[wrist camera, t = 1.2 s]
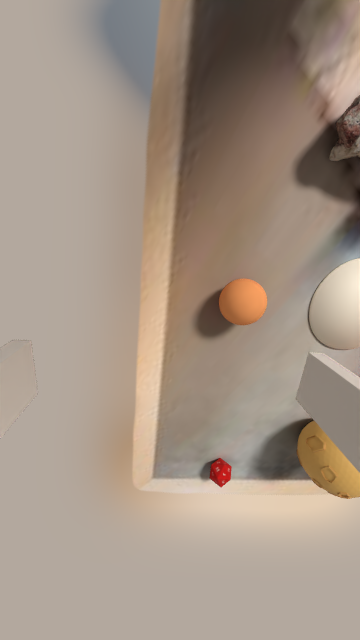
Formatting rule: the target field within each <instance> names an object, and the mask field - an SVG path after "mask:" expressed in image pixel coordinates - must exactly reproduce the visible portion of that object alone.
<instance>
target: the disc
mask: <svg viewBox="0 0 360 640" xmlns="http://www.w3.org/2000/svg"><path fill="white" fill-rule="evenodd" d="M309 322H310V326H311V329H312V331H313V333H314V335H315V336H316V338H317V339H318V340H319V341H320V342H322V343H323V344H325V345H326V346H329V347H331V348H335V349H341V350H347V349H354V348H358V347H360V258H358V259H354V260H351V261H348V262H346V263H344V264H342V265H340V266H339V267H337V268H336V269H334V270H333V271H332V272H331V273H329V274H328V275H327V276H326V277H325V278H324V279H323V281H322V282H321V283H320V285H319V286H318V288H317V289H316V291H315V293H314V295H313V298H312V301H311V304H310V309H309Z"/></svg>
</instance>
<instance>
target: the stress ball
mask: <svg viewBox="0 0 360 640" xmlns="http://www.w3.org/2000/svg"><path fill="white" fill-rule="evenodd" d="M297 455H298V458H299V461H300V464H301V466H303V468H304V469H305V471H306V472H307V474H308V475H309V476H310V477H311V479H312V481H313V482H314V483H315V484H316V485H317V486H319V487H320V488H323V489H324V490H326V491H327V492H328V493H330V494H333V495H335V496H338V497H341V498H347V499H350V498H355V497H360V473H359V472H358V470H357V469H356V468H355V467H354V466H353V465H352V464H351V462H350V461H349V460H348V459H347V458H346V457H345V455H344V454H343V453H342V452H341V451H340V450H339V448H338V447H337V446H336V445H335V444H334V443H333V442H332V440H331V439H330V438H329V437H328V436H327V435H326V433H325V432H324V431H323V430H322V429H321V428H320V427H319V425H318V424H317V423H316V422H315V421H312V422H310V423H309V424H307V425H306V426H305V427H304V428H303V430H302V431H301V433H300V435H299V439H298V450H297Z"/></svg>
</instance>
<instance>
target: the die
mask: <svg viewBox="0 0 360 640" xmlns="http://www.w3.org/2000/svg"><path fill="white" fill-rule="evenodd" d="M210 479H211V480H212V481H214V482H215V483H216V484H217V485H219V486H220V487H222V486H223V485H225V484H226V483H227V482H228V481H229V480H230V479H231V466H230V465H229V464H228V463H226V462H225V461H224V460H222V459H221V458H219V459H218V460H217V461H215V462H214V463H213V464H212V465H211V471H210Z"/></svg>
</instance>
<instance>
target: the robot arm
mask: <svg viewBox="0 0 360 640" xmlns="http://www.w3.org/2000/svg"><path fill="white" fill-rule="evenodd" d="M37 394H38V389H37V382H36V374H35V367H34V359H33V351H32V344H31V341H27V340H12V341H10V342H9V343H7V344H5V345H4V346H2V347H1V348H0V438H1V437H2V436H3V435H4V434H5V432H6V431H7V430H8V429H9V428H10V426H11V425H12V424H13V423H14V422H15V420H16V419H17V418H18V417H19V416H20V414H21V413H22V412H23V411H24V410H25V408H26V407H27V406H28V404H30V403H31V401H32V400H33V399H34V398H35V396H36V395H37ZM296 400H297V401H298V402H299V403H300V405H301V406H302V407H303V408H304V409H305V410H306V412H307V413H308V414H309V415H310V416H311V417H312V418H313V420H314V421H315V422H316V423H317V424H318V425H319V427H320V428H321V429H322V430H323V431H324V432H325V433H326V435H327V436H328V437H329V438H330V439H331V440H332V442H333V443H334V444H335V445H336V446H337V447H338V448H339V450H340V451H341V452H342V453H343V454H344V455H345V457H346V458H347V459H348V460H349V461H350V462H351V464H352V465H353V466H354V467H355V468H356V469H357V470H358V472H359V473H360V377H358V376H357V375H355V374H354V373H352V372H351V371H349V370H348V369H346V368H345V367H343V366H342V365H340V364H339V363H337V362H336V361H334V360H333V359H331V358H330V357H328V356H327V355H325V354H324V353H314V352H309V353H308V356H307V360H306V364H305V367H304V371H303V374H302V378H301V381H300V385H299V388H298V392H297V396H296Z"/></svg>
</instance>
